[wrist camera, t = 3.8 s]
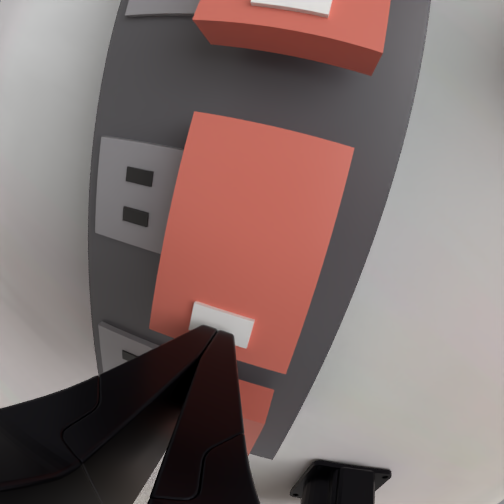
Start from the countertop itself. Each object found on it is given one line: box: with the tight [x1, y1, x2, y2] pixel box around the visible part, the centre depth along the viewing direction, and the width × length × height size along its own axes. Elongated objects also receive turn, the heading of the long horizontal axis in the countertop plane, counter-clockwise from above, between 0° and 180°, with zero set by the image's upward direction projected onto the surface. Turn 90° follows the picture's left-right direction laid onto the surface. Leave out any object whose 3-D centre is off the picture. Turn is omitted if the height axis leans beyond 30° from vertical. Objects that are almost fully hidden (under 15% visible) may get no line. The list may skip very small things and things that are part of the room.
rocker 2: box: [149, 111, 354, 374], centre depth 9 cm, size 6×4×2 cm, turn 168°
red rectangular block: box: [239, 379, 274, 455], centre depth 12 cm, size 6×4×2 cm, turn 168°
